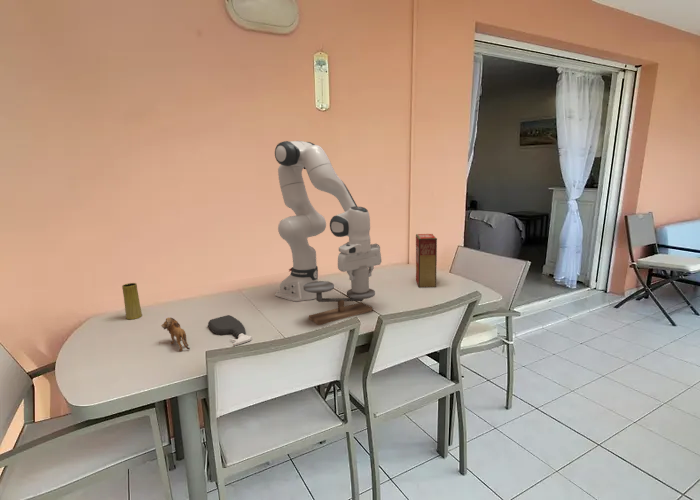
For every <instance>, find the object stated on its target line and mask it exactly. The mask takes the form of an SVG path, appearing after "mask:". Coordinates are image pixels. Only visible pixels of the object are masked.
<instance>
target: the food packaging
mask: <svg viewBox="0 0 700 500" xmlns="http://www.w3.org/2000/svg"><path fill="white" fill-rule="evenodd" d="M437 243H438V238H437V237H436V236H435V235H434V234H433V233H416V234H415V282H416V285H417V287H418V288H437V263H438V262H437V256H438V254H437V252H438V251H437V250H438V247H437V246H438V244H437Z"/></svg>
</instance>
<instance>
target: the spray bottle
mask: <svg viewBox="0 0 700 500" xmlns="http://www.w3.org/2000/svg"><path fill="white" fill-rule="evenodd" d="M207 326H208V327H209V330H211V332H212V333H214V334H215V335H219V336H225V335H228V336H229V335H233V336H234V337H235V338H229V341H232V342H233V343H232V345H233V346H238V345H241V344H245V343H247V342H251V341H252V340H253V336H252V335H247V333H246V329H245V328H246V327H245V326H244V325H243V323H242V322H241V321H240V320H239V319H237V318H235V317H234V316H232V315H229V314H226V315H222V316H220V317H215V318H212V319H210V320H209V321H208V322H207Z"/></svg>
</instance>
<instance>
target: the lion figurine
mask: <svg viewBox="0 0 700 500" xmlns="http://www.w3.org/2000/svg"><path fill="white" fill-rule="evenodd" d="M160 326H161V329H162V328H163V330H167V332H169V334H170V338H171V343H170V344H171V345H174V344H176V343H177V345H178V346H179V349H178V351H179V352H183V350H184V349H183V346H184V347H185V348H186V349H187V350H190V347H189V343H188V340H187V333H186V331H185V329H184V328H182V327H181V324H180V323H179V322H178V320H176V319H175V318H174V317H167V318H165V321H164V322H163V324H161V325H160ZM175 338H176V339H175ZM181 341H182V344H181Z"/></svg>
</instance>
